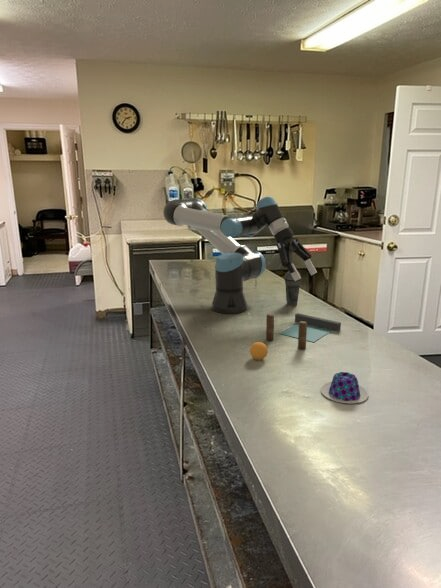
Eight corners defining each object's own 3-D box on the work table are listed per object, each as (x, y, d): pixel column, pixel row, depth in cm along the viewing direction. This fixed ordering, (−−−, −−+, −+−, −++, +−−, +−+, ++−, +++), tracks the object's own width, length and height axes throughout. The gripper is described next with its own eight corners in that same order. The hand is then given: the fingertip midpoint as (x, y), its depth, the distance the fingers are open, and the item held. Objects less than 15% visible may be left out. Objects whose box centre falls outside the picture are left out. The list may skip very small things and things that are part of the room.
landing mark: (278, 333, 156) (278, 333, 156) (298, 323, 167) (298, 323, 167) (313, 342, 148) (313, 342, 148) (331, 331, 158) (331, 330, 158)
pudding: (332, 379, 122) (333, 362, 120) (375, 392, 114) (376, 374, 113) (312, 396, 113) (313, 377, 111) (357, 411, 106) (358, 391, 104)
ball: (246, 359, 135) (246, 343, 133) (256, 354, 139) (256, 338, 137) (261, 364, 131) (261, 347, 130) (270, 358, 135) (271, 342, 134)
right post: (296, 348, 143) (297, 322, 140) (300, 346, 145) (301, 320, 142) (303, 350, 141) (304, 324, 139) (307, 348, 143) (308, 322, 141)
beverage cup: (300, 307, 187) (301, 261, 182) (283, 306, 189) (284, 261, 184) (300, 302, 194) (302, 258, 189) (284, 301, 196) (285, 258, 190)
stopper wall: (294, 321, 169) (295, 314, 168) (297, 320, 170) (297, 313, 169) (338, 331, 158) (338, 323, 157) (340, 330, 159) (340, 322, 158)
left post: (264, 339, 151) (265, 315, 148) (268, 337, 152) (269, 313, 150) (270, 341, 149) (271, 316, 147) (274, 339, 151) (275, 314, 148)
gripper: (271, 229, 165) (297, 277, 162) (303, 224, 184) (327, 267, 181) (257, 239, 170) (283, 286, 167) (290, 233, 189) (313, 275, 185)
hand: (306, 276), depth 174 cm, fingers open, 13 cm apart
